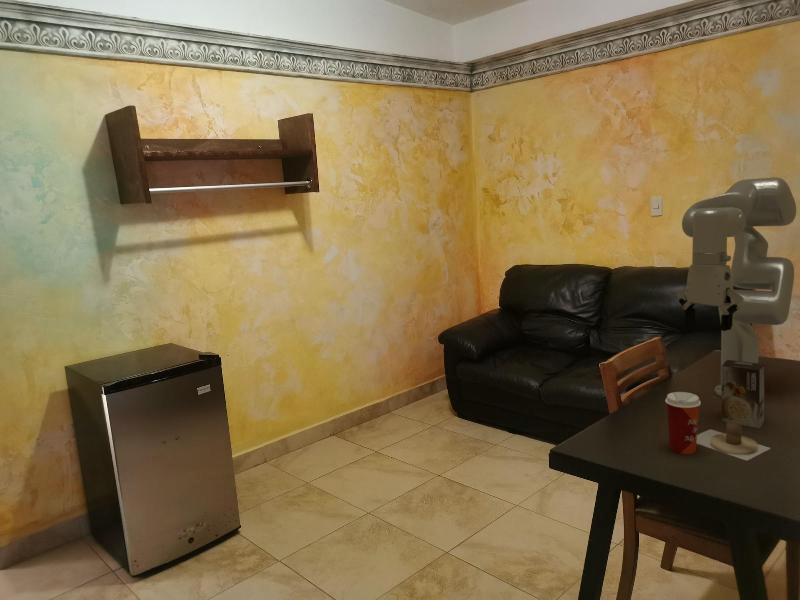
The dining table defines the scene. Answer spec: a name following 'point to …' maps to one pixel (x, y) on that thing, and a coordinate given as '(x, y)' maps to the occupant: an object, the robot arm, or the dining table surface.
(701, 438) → the mat
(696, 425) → the paper cup
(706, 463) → the dining table surface
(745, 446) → the lid
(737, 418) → the coffee box
